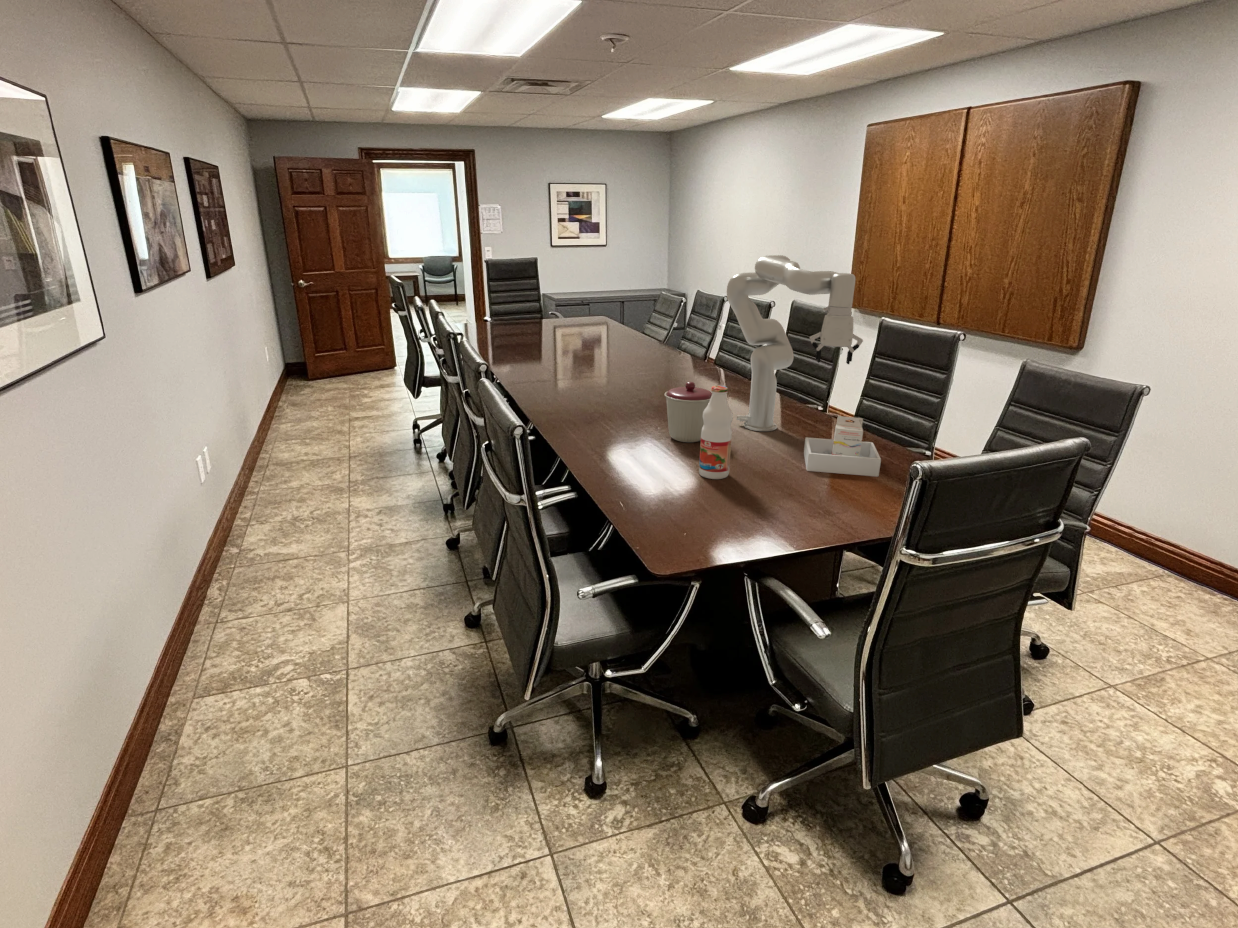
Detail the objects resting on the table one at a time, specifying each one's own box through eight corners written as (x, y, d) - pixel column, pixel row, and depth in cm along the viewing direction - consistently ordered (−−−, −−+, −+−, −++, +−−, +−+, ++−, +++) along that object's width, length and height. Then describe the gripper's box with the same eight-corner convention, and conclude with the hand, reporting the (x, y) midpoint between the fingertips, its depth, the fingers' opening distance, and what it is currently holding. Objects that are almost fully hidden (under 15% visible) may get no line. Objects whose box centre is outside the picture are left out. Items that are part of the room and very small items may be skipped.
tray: (806, 470, 222) (808, 453, 220) (803, 453, 238) (805, 437, 237) (878, 476, 218) (881, 459, 216) (870, 458, 235) (872, 442, 233)
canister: (718, 435, 256) (722, 379, 249) (703, 449, 241) (706, 390, 234) (672, 429, 264) (675, 374, 257) (655, 441, 248) (657, 384, 241)
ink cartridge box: (831, 462, 227) (836, 419, 222) (830, 457, 231) (836, 415, 226) (858, 465, 225) (864, 421, 220) (857, 460, 229) (863, 417, 224)
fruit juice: (734, 475, 217) (741, 387, 207) (715, 482, 211) (722, 392, 201) (711, 467, 223) (717, 382, 214) (692, 473, 217) (697, 386, 208)
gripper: (813, 312, 228) (807, 363, 234) (868, 314, 225) (860, 366, 230) (811, 309, 235) (806, 359, 241) (865, 311, 232) (858, 362, 237)
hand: (833, 362), depth 235 cm, fingers open, 9 cm apart
